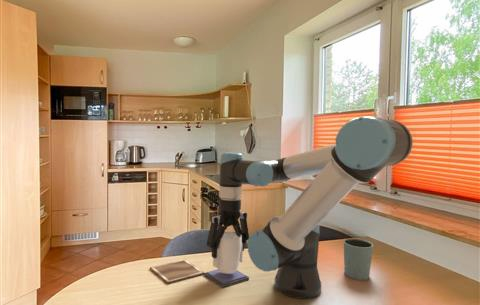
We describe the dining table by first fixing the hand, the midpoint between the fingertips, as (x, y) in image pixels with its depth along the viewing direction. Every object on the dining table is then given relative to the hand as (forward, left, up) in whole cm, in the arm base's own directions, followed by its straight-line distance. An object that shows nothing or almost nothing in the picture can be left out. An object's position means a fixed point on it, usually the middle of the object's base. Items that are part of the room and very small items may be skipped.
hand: (227, 263), depth 113 cm
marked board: (+13, +12, -5) cm, 19 cm away
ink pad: (0, 0, -5) cm, 5 cm away
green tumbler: (-23, -41, -5) cm, 48 cm away
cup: (0, 0, -2) cm, 2 cm away
